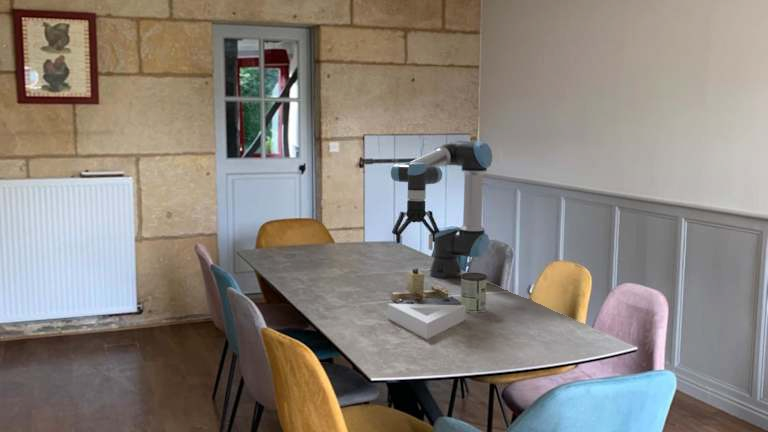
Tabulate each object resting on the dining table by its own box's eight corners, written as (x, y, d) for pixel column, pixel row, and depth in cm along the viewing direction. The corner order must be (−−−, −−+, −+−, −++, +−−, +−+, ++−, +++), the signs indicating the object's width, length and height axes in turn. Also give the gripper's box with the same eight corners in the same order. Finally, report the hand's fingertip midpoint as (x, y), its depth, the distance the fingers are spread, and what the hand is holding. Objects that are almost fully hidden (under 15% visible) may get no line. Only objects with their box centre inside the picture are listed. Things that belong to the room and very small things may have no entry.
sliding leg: (417, 292, 335) (418, 267, 334) (430, 301, 321) (430, 274, 319) (406, 293, 334) (407, 267, 332) (418, 301, 319) (419, 275, 318)
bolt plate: (452, 300, 330) (452, 295, 330) (461, 306, 321) (461, 301, 320) (395, 304, 323) (395, 299, 322) (403, 310, 313) (403, 305, 313)
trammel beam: (443, 295, 338) (443, 285, 338) (456, 303, 325) (456, 293, 324) (390, 298, 331) (390, 288, 331) (401, 307, 318) (401, 296, 317)
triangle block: (426, 340, 276) (427, 323, 275) (365, 328, 289) (365, 312, 288) (465, 321, 301) (465, 305, 300) (407, 311, 314) (407, 295, 314)
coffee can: (463, 305, 322) (464, 271, 320) (488, 307, 319) (489, 273, 317) (457, 311, 313) (458, 276, 311) (482, 313, 309) (483, 278, 307)
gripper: (441, 198, 333) (439, 247, 336) (385, 199, 326) (384, 249, 328) (447, 200, 326) (446, 250, 329) (390, 201, 318) (389, 252, 321)
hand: (415, 250), depth 329 cm, fingers open, 13 cm apart
